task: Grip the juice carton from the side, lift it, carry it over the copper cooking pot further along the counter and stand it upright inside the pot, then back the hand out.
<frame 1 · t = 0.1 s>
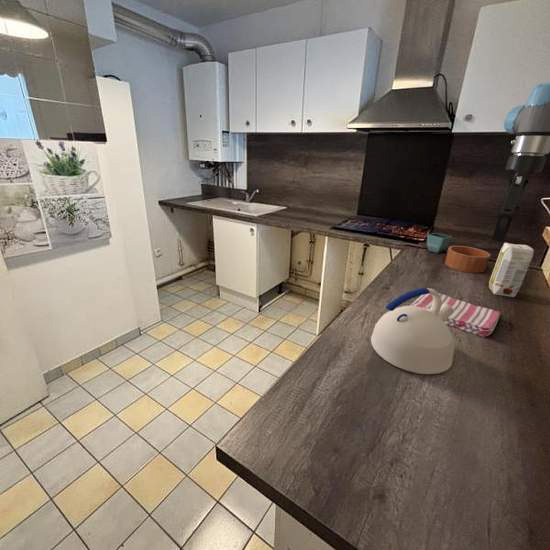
hand: (499, 236, 82), 28 cm above the worktop, tool pointing down, fingers open, 13 cm apart
kettle: (409, 349, 78), on the worktop
flower pot: (435, 251, 158), on the worktop
juice carton: (500, 293, 113), on the worktop
pot: (464, 266, 138), on the worktop
dish towel: (452, 314, 96), on the worktop
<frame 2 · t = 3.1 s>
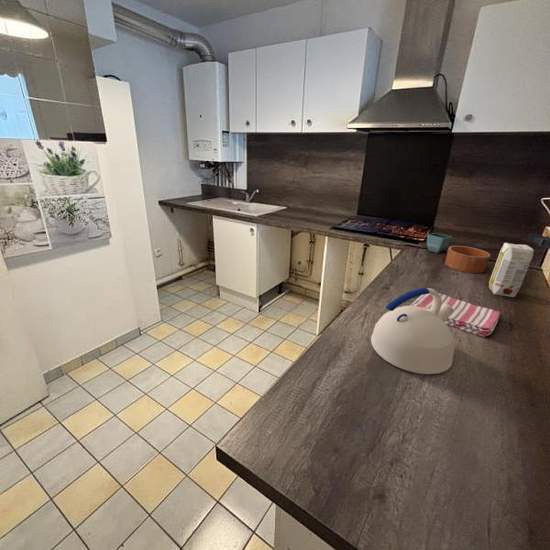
hand: (548, 239, 95), 24 cm above the worktop, tool horizontal, fingers open, 13 cm apart
nothing on the worktop moved.
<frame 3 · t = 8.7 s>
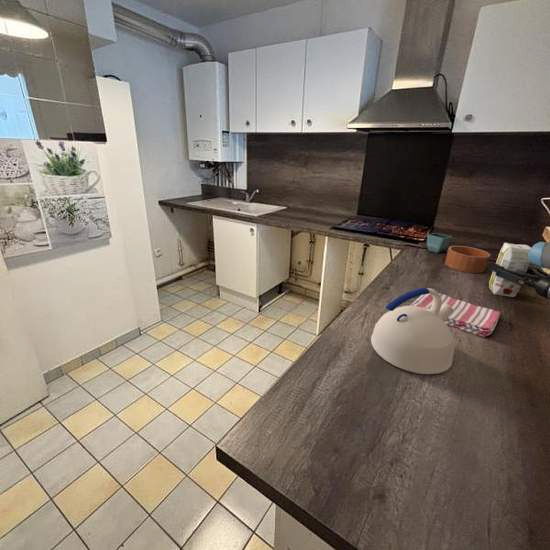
hand: (500, 264, 113), 10 cm above the worktop, tool horizontal, fingers closed on juice carton, 9 cm apart
juice carton: (500, 293, 113), on the worktop, touching gripper
everything else where it was.
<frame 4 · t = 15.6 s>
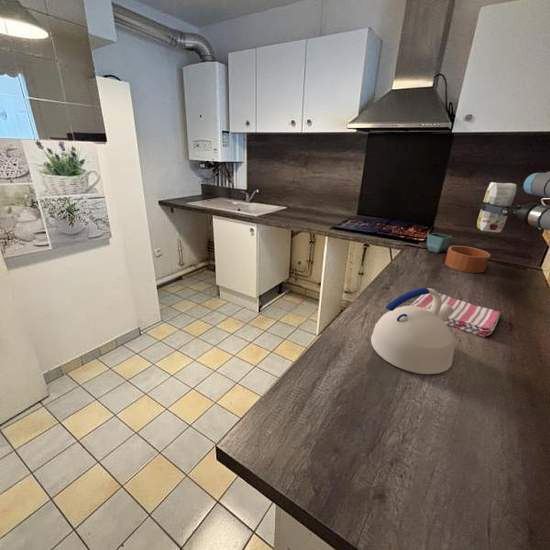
hand: (487, 204, 122), 30 cm above the worktop, tool horizontal, fingers closed on juice carton, 9 cm apart
juice carton: (488, 230, 122), point 20 cm above the worktop, touching gripper
everything else where it was.
when the fingers open (11 cm above the worktop, at t = 22.6 s): juice carton stays where it is, resting on pot.
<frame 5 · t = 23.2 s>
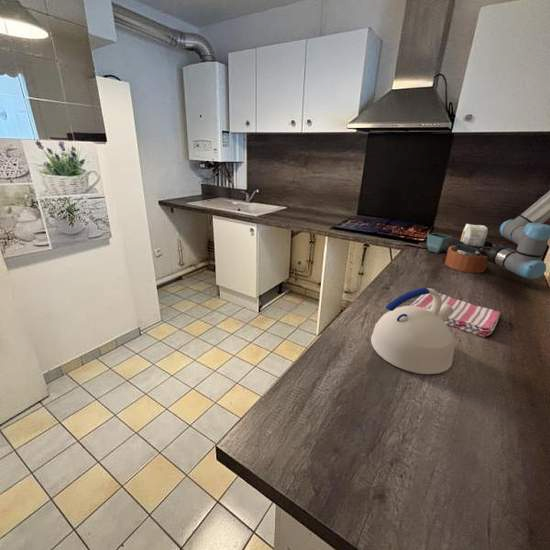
hand: (466, 241, 137), 11 cm above the worktop, tool horizontal, fingers open, 13 cm apart
juice carton: (464, 265, 138), resting on pot
everything else where it was.
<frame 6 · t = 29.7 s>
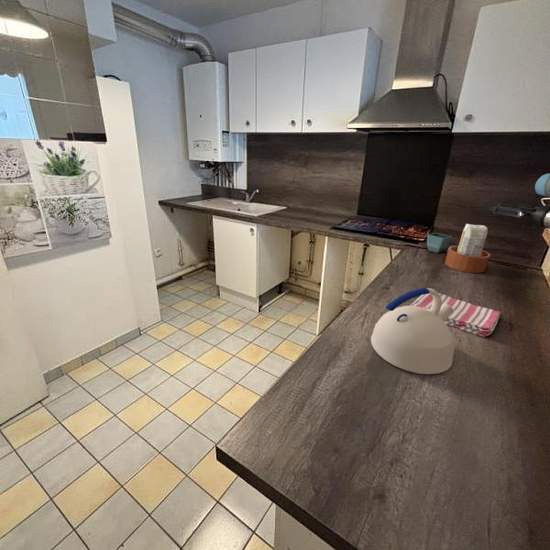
hand: (502, 206, 117), 30 cm above the worktop, tool horizontal, fingers open, 13 cm apart
nothing on the worktop moved.
at the end: juice carton inside the target area in the pot (0.0 cm from its centre), point 0.4 cm above the pot's base; juice carton tilted 0°; the gripper is holding nothing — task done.
